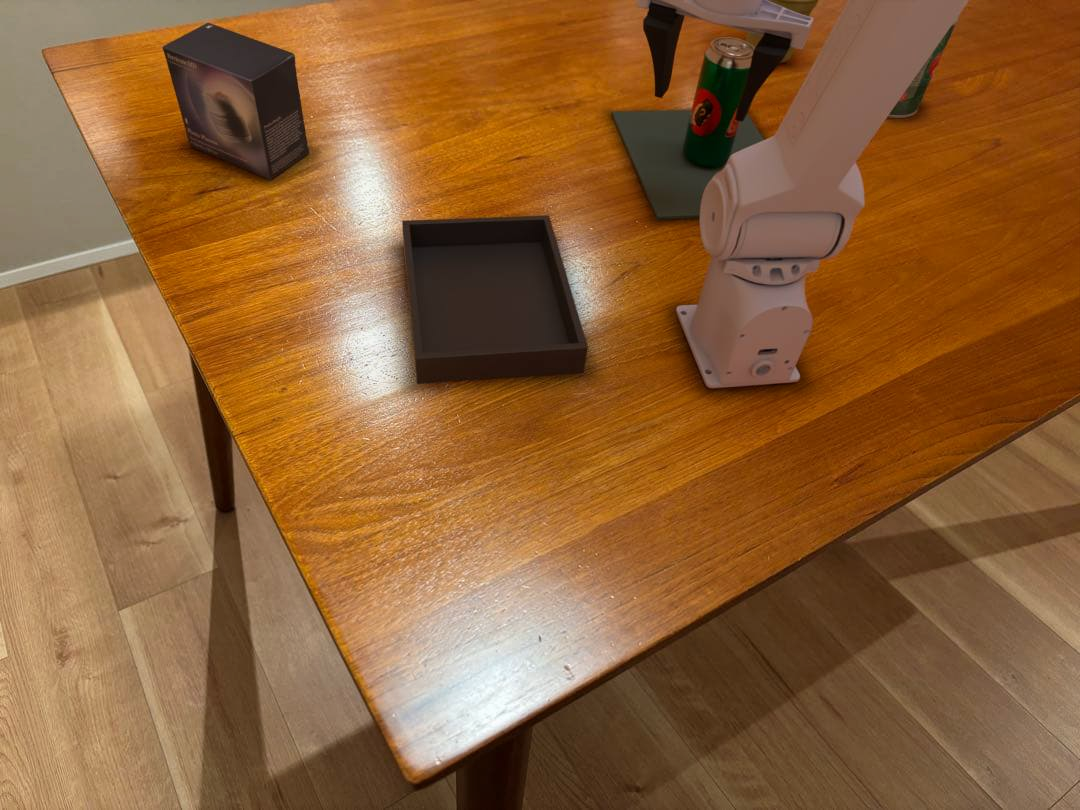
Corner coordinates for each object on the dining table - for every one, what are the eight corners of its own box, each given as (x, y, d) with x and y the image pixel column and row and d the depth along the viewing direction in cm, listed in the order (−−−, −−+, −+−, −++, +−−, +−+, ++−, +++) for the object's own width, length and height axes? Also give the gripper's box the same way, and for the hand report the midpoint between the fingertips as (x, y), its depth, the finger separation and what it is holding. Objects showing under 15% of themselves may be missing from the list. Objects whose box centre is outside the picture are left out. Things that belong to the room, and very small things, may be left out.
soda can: (727, 174, 85) (759, 62, 76) (679, 166, 86) (705, 53, 77) (729, 149, 89) (760, 39, 80) (683, 141, 89) (708, 31, 80)
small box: (184, 148, 82) (156, 44, 74) (230, 121, 86) (207, 19, 78) (269, 183, 79) (248, 78, 71) (312, 152, 83) (297, 50, 75)
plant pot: (716, 41, 107) (733, -29, 101) (774, 33, 110) (794, -36, 104) (757, 75, 102) (778, 3, 95) (817, 65, 105) (841, -5, 98)
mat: (808, 214, 82) (810, 211, 82) (656, 220, 80) (657, 216, 79) (743, 112, 95) (744, 109, 95) (611, 114, 93) (611, 111, 92)
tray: (583, 372, 65) (588, 347, 63) (416, 384, 63) (415, 358, 61) (546, 240, 76) (549, 214, 74) (403, 246, 74) (402, 220, 72)
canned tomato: (931, 114, 99) (974, 21, 90) (878, 122, 96) (918, 28, 88) (890, 82, 103) (927, -8, 95) (839, 89, 101) (873, -3, 93)
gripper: (840, -52, 65) (788, 107, 75) (668, -92, 68) (641, 65, 79) (822, -23, 61) (770, 142, 71) (640, -67, 64) (615, 96, 74)
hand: (700, 104), depth 74 cm, fingers open, 7 cm apart
